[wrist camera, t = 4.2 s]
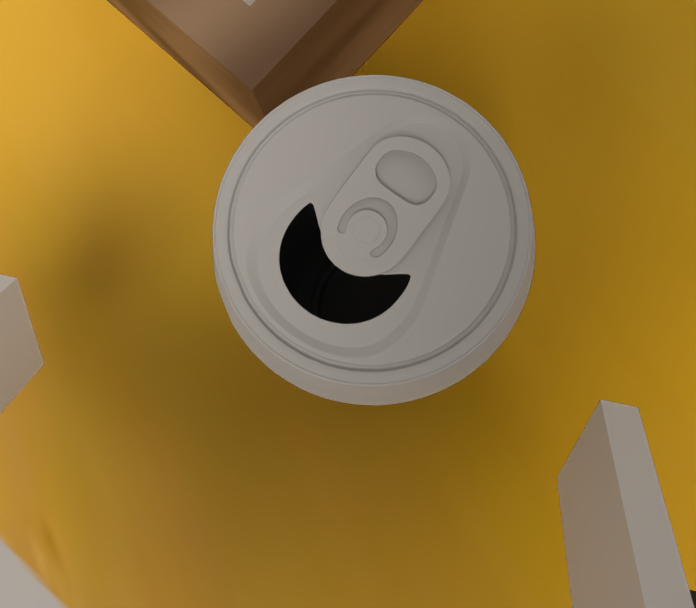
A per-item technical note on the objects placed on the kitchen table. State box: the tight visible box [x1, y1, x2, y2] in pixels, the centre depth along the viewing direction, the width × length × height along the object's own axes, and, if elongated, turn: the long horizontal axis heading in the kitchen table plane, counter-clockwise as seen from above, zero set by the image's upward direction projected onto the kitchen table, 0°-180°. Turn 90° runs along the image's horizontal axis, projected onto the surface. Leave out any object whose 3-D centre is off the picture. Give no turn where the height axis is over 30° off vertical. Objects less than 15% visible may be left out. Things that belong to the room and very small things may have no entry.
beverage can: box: [213, 75, 536, 405], centre depth 16 cm, size 6×6×12 cm
